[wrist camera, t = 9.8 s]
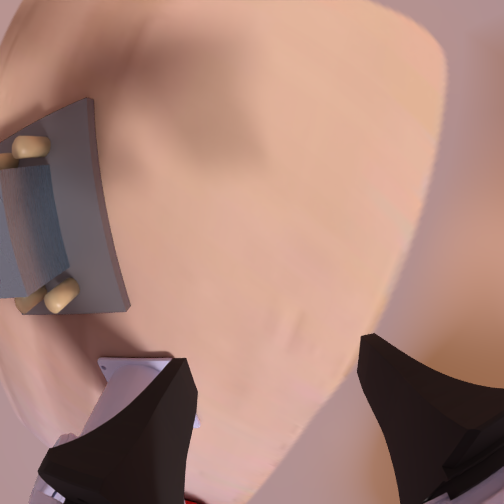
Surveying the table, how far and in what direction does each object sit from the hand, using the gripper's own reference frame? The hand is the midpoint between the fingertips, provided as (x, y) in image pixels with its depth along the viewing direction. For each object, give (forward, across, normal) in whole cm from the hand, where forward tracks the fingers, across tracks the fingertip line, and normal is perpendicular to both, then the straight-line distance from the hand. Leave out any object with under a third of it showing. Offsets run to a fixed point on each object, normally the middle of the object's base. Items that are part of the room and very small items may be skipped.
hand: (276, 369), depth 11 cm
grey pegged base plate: (+9, +17, -7) cm, 21 cm away
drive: (+8, +17, -7) cm, 20 cm away
